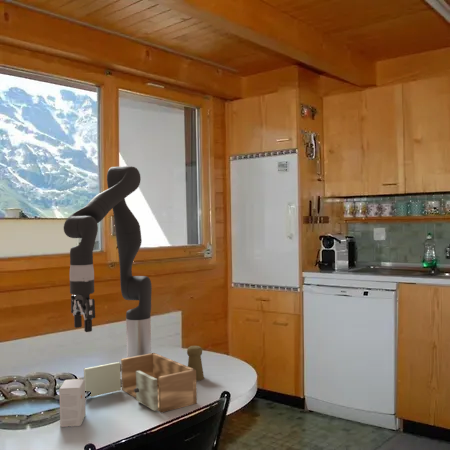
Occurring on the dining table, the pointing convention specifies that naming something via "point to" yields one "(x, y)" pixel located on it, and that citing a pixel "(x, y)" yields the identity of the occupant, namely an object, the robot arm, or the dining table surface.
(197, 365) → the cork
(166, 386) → the cabinet
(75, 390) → the small box
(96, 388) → the door
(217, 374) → the dining table surface
